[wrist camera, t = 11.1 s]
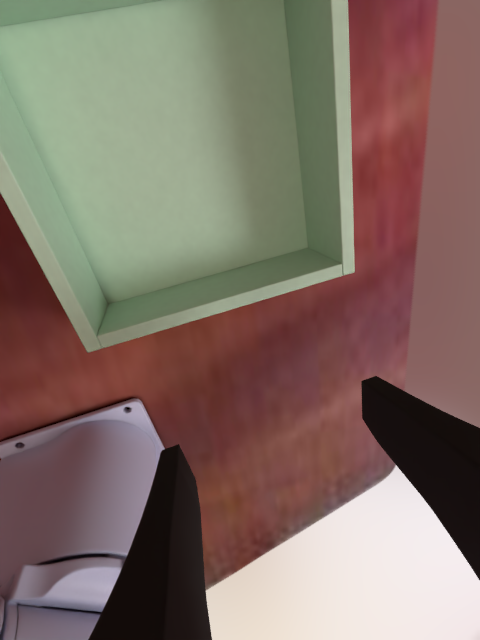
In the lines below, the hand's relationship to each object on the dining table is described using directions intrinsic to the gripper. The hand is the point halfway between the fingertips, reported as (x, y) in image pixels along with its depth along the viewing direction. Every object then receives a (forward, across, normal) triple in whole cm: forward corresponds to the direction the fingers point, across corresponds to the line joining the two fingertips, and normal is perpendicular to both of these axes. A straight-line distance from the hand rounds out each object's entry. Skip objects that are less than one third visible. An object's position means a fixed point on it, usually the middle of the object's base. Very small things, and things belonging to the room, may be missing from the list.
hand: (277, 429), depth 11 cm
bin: (+10, 0, -9) cm, 14 cm away
